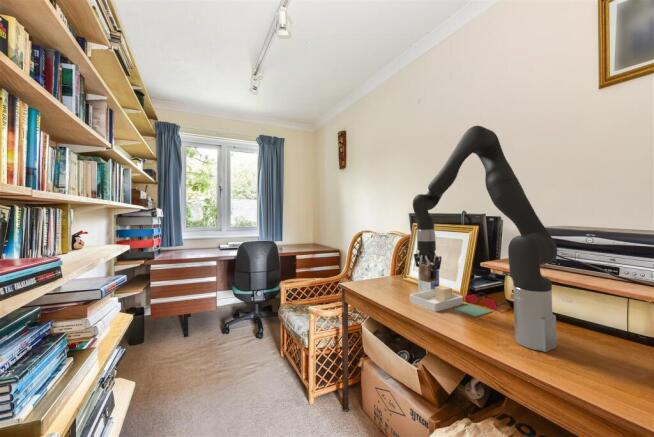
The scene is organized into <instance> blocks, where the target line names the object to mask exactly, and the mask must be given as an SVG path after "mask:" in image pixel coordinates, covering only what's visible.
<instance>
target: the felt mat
mask: <svg viewBox="0 0 654 437" xmlns="http://www.w3.org/2000/svg"><path fill="white" fill-rule="evenodd" d="M452 310H454V311H458V312H460V313H463V314H465V315H468V316H471V317H474V318H477V317H481V316H484V315H488V314H490V313H493V311H492V310H491V309H488V308H487V309H486V308H483V307H480V306H477V305H473V304H472V303H468V304H462V305H458V306H455V307H454V308H453V307H452Z"/></svg>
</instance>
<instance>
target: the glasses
mask: <svg viewBox="0 0 654 437" xmlns="http://www.w3.org/2000/svg"><path fill="white" fill-rule="evenodd" d="M480 294H483V295H484V296H482V295H480ZM479 297H481V299H482V304H483V305H484V306H486V307H487V308H488V309H489V310H493V311H496V310H497V309H498V307H499V306H502V305H505V304H507V303H509V302H508V301H505V302H502V303H500V304H497V302H496V300H494V299H492V298H490V297H487V295H486V293H484V292H479V293H476V294H475V293H472V294H471V293H467V294H466V295H465V297H463V299H465V301H467V302H468V304H471V305H473V304H476V303H477V304H478V303H480V298H479Z"/></svg>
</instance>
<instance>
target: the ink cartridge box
mask: <svg viewBox="0 0 654 437" xmlns="http://www.w3.org/2000/svg"><path fill="white" fill-rule="evenodd" d="M417 268H418V269H417V272H418V274H417V275H418V278H417V280H418V281H417V284H418V292H423V291H428V290H432V289H435V287H438V286H440V270H436V272H437V281H433V282H425V281H421V280H420V276H419V267H417Z"/></svg>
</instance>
